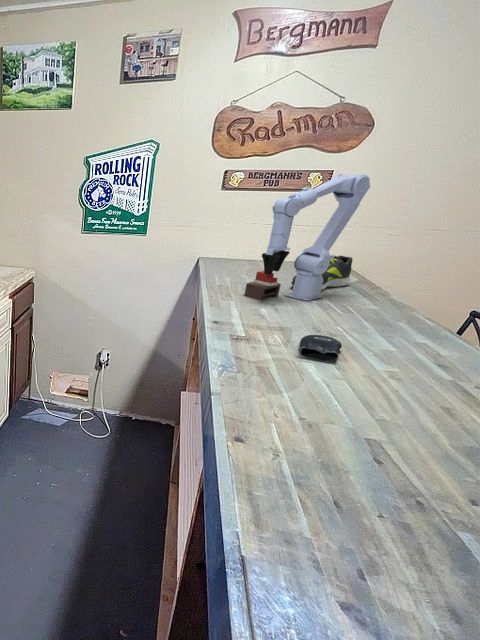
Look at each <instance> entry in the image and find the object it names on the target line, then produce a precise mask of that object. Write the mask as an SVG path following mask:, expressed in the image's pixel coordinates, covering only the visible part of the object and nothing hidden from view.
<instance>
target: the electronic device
mask: <svg viewBox="0 0 480 640" xmlns="http://www.w3.org/2000/svg"><path fill="white" fill-rule="evenodd" d="M342 346H343V345H342V343H341V342H340V340H338V339H336V338H334V337H332V336H329V335H322V334H308V335H304V336H303V337H302V338H301V339H300V341H299V348H297V351H298V355H299V358H304V359H310V360H316V361H320V362H324V363H332V362H334V361H335V360H338V359H339V353H340V350H341V349H342Z"/></svg>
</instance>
